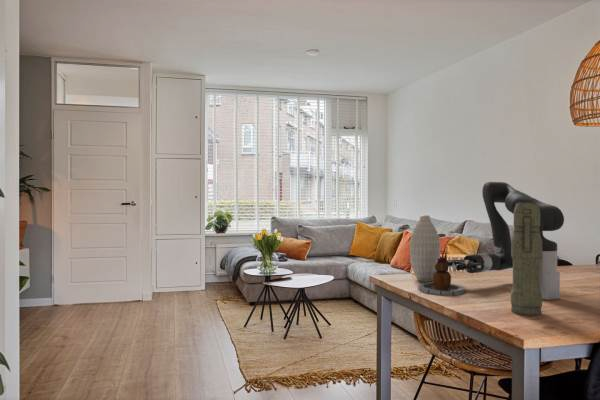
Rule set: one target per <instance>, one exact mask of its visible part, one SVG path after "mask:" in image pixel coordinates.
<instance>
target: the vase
mask: <svg viewBox="0 0 600 400" xmlns="http://www.w3.org/2000/svg"><path fill="white" fill-rule="evenodd" d="M419 216H420V217H419V220H418V222H417V223H416V225H415V227H414V228H413V230H412V233H411V235H410V242H409V260H410V266H411V268H412V271H413V274H414V276H415V278H416V279H417V281H419V282H433V273H434V272H436V269H435V264H436V263H437V261H438V258H439V259H440V256H441V244H440V242H441V241H440V237H439V234H438V231H437V229H436V227H435V225H434V224H433V222H432V221H431V219H430V215H427V214H426V215H425V214H424V215H423V214H421V215H419Z"/></svg>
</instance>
